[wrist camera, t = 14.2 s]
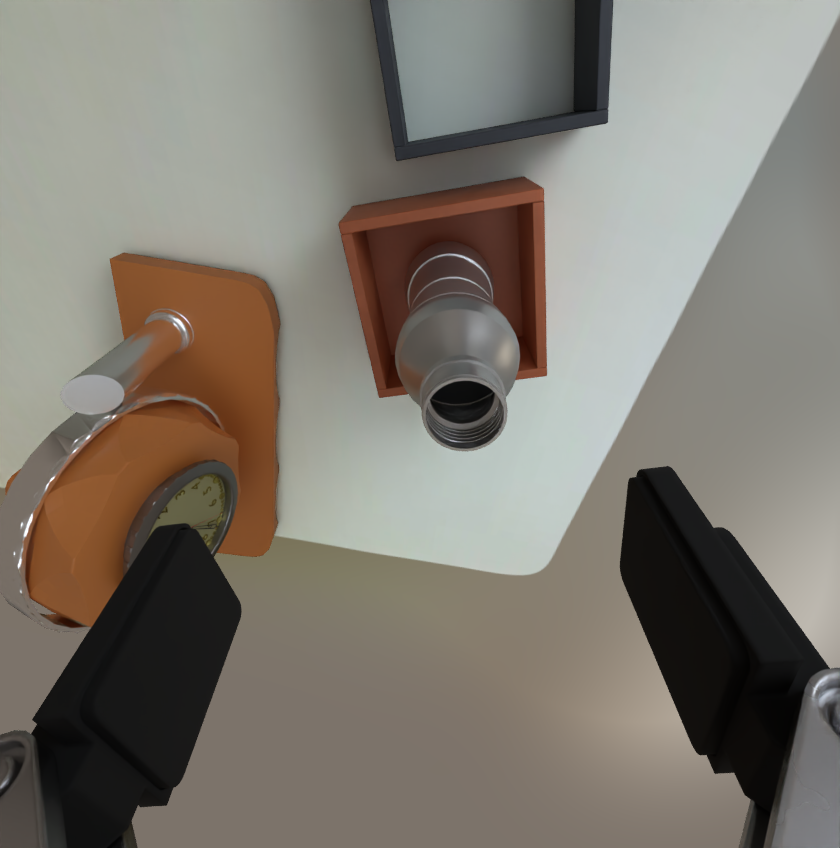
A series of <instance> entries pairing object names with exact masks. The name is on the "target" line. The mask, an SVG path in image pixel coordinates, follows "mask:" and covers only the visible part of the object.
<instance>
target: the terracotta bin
mask: <svg viewBox="0 0 840 848" xmlns="http://www.w3.org/2000/svg"><path fill="white" fill-rule="evenodd" d="M543 200H544V189H543V188H542V187H540V186H539V185H537V184H535V183H534V182H532V181H530V180H529V179H527V178H526V177H519V178H513V179H507V180H501V181H495V182H490V183H484V184H478V185H472V186H466V187H460V188H455V189H449V190H443V191H437V192H431V193H426V194H420V195H414V196H408V197H402V198H397V199H391V200H385V201H379V202H373V203H368V204H362V205H356V206H352V207H351V209H350V210H349V211H348V212H347V214H346V215H345V216H344V217H343V218H342V220H341V221H340V222H339V229H340V233H341V234H342V235H341V238H342V242H343V246H344V250H345V255H346V259H347V263H348V268H349V272H350V276H351V280H352V285H353V289H354V293H355V297H356V302H357V306H358V310H359V314H360V319H361V323H362V327H363V332H364V336H365V340H366V344H367V349H368V353H369V357H370V361H371V366H372V370H373V374H374V379H375V383H376V387H377V391H378V396H379V398H383V397H390V396H398V395H405V394H408V393H407V392H406V390H405V388H404V386H403V384H402V382H401V380H400V378H399V376H398V372H397V368H396V364H395V350H396V344H397V340H398V337H399V334H400V331H401V329H402V326H403V324H404V323H405V321H406V319H407V317H408V316H409V314H410V311H409V308H408V305H407V302H406V297H405V287H404V284H405V278H406V274H407V271H408V269H409V266H410V265H411V263H412V262H413V260H414V259H415V258H416V256H417V255H418V254H419V253H420V252H422V251H423V250H424V249H426V248H427V247H429V246H431V245H433V244H435V243H439V242H444V241H453V242H458V243H462V244H464V245H466V246H468V247H470V248H472V249H474V250H475V251H476V252H478V253H479V254H480V255H481V256H482V257H483V258H484V260H485V261H486V262H487V264H488V266H489V268H490V270H491V273H492V276H493V281H494V299H493V304H494V305H495V306H496V307H497V308H498V309H499V310H500V311H501V313H502V314H503V315H504V316H505V317H506V318H507V320H508V322H509V323H510V325H511V327H512V329H513V330H514V332H515V334H516V337H517V340H518V343H519V350H520V362H519V369H518V373H517V376H516V379H515V380H518V379H526V378H534V377H541V376H547V353H546V288H545V224H544V201H543Z"/></svg>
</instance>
